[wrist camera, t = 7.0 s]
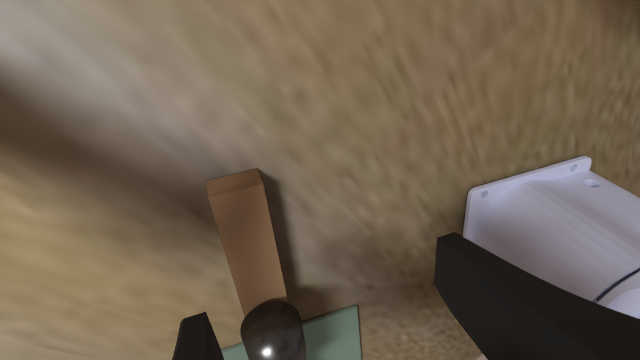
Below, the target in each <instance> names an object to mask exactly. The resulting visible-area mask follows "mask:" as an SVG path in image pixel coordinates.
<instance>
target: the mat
mask: <svg viewBox="0 0 640 360" xmlns="http://www.w3.org/2000/svg"><path fill="white" fill-rule="evenodd" d="M302 327H303V332H304V338H305V343H306V348H307V353H308V358H309V360H361V349H360V336H359V322H358V309H357V306H356V305H354V306H351V307H348V308H345V309H342V310H339V311H336V312H333V313H330V314H327V315H324V316H321V317H318V318H315V319H312V320H309V321H306V322H303V323H302ZM221 351H222V354H223V357H224V360H249V359H248V356H247V353H246V350H245V347H244V344H243V343H240V344H237V345H234V346H231V347H228V348H225V349H222V350H221Z"/></svg>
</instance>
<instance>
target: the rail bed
mask: <svg viewBox="0 0 640 360" xmlns="http://www.w3.org/2000/svg"><path fill="white" fill-rule="evenodd" d="M206 187H207V193H208V199H209V202H210V205H211V209H212V212H213V215H214V218H215V222H216V225H217V228H218V231H219V235H220V238H221V241H222V245H223V248H224V251H225V254H226V258H227V261H228V264H229V267H230V271H231V274H232V277H233V280H234V284H235V287H236V290H237V293H238V297H239V300H240V303H241V307H242V310H243V313H244V316H245V317H246V315H247V314H248V313H249V312H250V311H251V310H252V309H254V308H255V307H257V306H258V305H260V304H263V303H266V302H270V301H282V302H286V303H288V299H287V294H286V289H285V285H284V280H283V275H282V271H281V266H280V261H279V256H278V252H277V247H276V242H275V237H274V233H273V228H272V223H271V219H270V214H269V209H268V204H267V200H266V195H265V190H264V186H263V182H262V180H261V177H260V174H259V172H258V169H257V168H256V169H252V170H248V171H244V172H240V173H236V174H232V175H228V176H224V177H220V178H216V179H212V180H208V181H206Z"/></svg>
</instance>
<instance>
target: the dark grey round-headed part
mask: <svg viewBox="0 0 640 360" xmlns="http://www.w3.org/2000/svg"><path fill="white" fill-rule="evenodd" d="M241 337H242V341H243V344H244V347H245V350H246V353H247V356H248V359H249V360H309V358H308V353H307V348H306V343H305V338H304V332H303V327H302V322H301V317H300V314H299V312H298V311H297V309H296V308H295V307H294V306H292V305H291V304H289V303H286V302H282V301H270V302H266V303H263V304H260V305H258V306H257V307H255V308H254V309H252V310H251V311H250V312H249V313H248V314H247V315H246V317H245V318H244V320H243V322H242V325H241Z"/></svg>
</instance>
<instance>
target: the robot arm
mask: <svg viewBox="0 0 640 360" xmlns="http://www.w3.org/2000/svg"><path fill="white" fill-rule="evenodd" d="M590 165H591V158H589V157H587V156H581V157H578V158H574V159H571V160H567V161H564V162H560V163H557V164H554V165H550V166H547V167H543V168H540V169H536V170H533V171H529V172H526V173H522V174H519V175H515V176H512V177H509V178H505V179H502V180H498V181H495V182H491V183H488V184H484V185H481V186H477V187H474V188H472V189H471V190H470V191H469V193H468V196H467V205H466V213H465V222H464V230H463V237H462V236H461V235H459V234H457V233H455V232H453V233H450V234H447V235H444V236H441V237H438V238H437V248H436V264H435V279H434V284H435V286H436V288H437V289H438V291H439V293H440V295H441V296H442V298H443V300H444V301H445V303H446V305H447V306H448V308H449V309H450V311H451V313H452V314H453V315H454V317H455V318H456V319H457V320H458V322H459V323H460V324H461V326H462V327H463V328H464V330H465V331H466V332H467V334H468V335H469V336H470V337H471V339H472V340H473V341H474V342H475V344H476V345H477V346H478V348H479V349H480V350H481V351H482V353H483V354H484V355H485V356H486V358H487V359H488V360H640V198H639V197H637V196H635V195H633V194H631V193H630V192H628V191H626V190H624V189H622V188H621V187H619V186H617V185H615V184H613V183H611V182H610V181H608V180H606V179H604V178H602V177H601V176H599V175H597V174H595V173H593V172H591V171H590V170H589V169H590ZM172 360H224V357H223V354H222V351H221V349H220V346H219V344H218V341H217V339H216V336H215V334H214V331H213V329H212V326H211V324H210V321H209V319H208V316H207V314H206V312H203V313H200V314H197V315H194V316H191V317H188V318H185V319H183V320H182V322H181V323H180V328H179V334H178V338H177V343H176V347H175V351H174V355H173V359H172Z"/></svg>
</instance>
